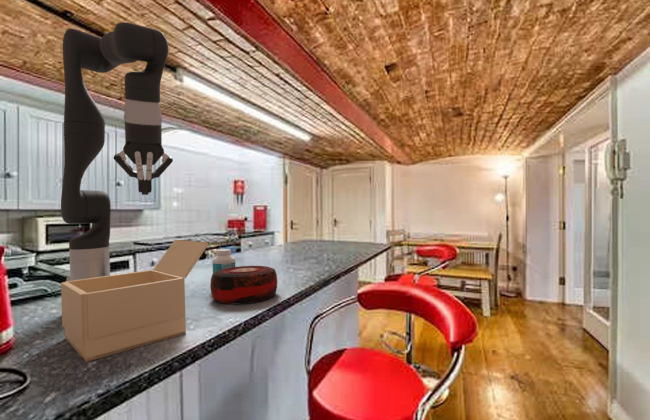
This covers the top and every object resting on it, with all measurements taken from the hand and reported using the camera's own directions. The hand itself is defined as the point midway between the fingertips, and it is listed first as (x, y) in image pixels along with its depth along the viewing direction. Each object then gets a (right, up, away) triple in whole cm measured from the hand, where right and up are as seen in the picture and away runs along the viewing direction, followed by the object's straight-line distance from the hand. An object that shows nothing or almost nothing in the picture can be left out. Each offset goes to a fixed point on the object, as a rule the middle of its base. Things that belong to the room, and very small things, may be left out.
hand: (145, 193), depth 84 cm
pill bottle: (+10, -31, +32) cm, 46 cm away
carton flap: (+9, -15, -2) cm, 18 cm away
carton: (+1, -31, -11) cm, 33 cm away
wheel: (+20, -31, +21) cm, 42 cm away
